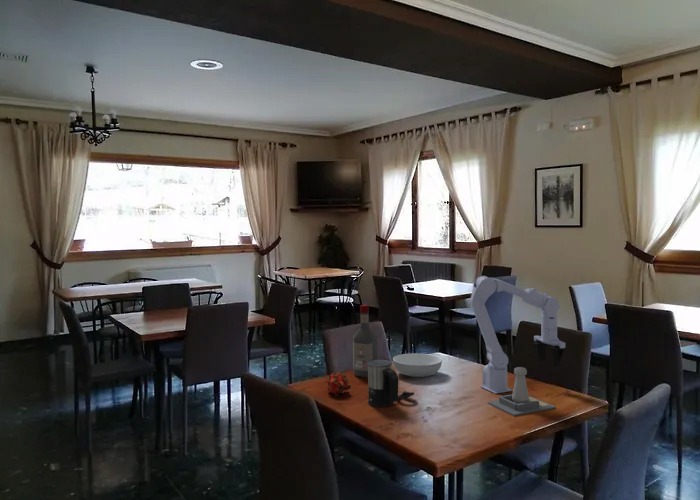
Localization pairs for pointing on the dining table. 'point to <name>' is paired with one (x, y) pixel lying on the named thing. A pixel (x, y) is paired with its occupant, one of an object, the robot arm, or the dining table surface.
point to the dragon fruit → (337, 383)
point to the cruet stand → (520, 405)
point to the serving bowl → (417, 364)
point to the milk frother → (383, 384)
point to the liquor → (364, 345)
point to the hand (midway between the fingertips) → (549, 363)
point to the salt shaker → (520, 386)
